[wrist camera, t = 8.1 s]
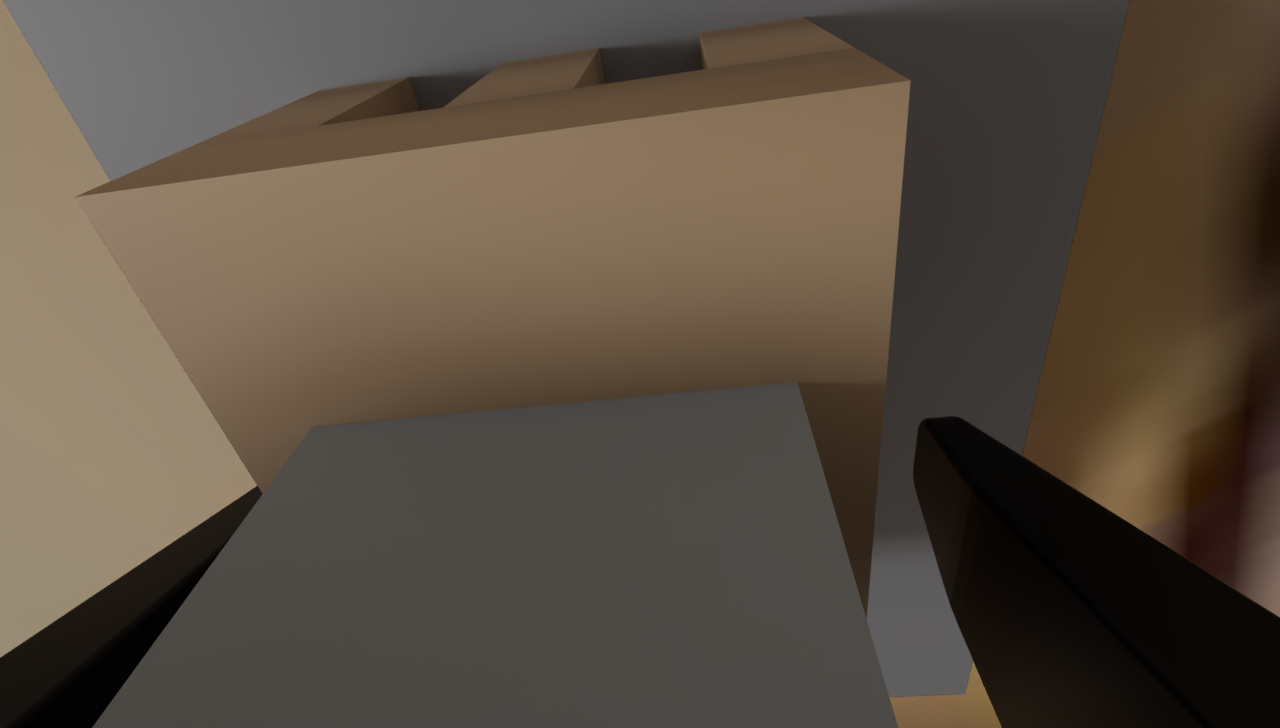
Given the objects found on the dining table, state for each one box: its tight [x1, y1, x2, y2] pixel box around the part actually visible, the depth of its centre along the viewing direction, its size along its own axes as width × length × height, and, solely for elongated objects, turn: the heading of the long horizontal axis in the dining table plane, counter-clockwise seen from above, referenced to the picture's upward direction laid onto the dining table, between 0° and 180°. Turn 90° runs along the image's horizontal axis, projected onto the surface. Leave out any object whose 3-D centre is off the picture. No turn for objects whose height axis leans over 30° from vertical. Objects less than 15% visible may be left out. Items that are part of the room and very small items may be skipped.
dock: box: [3, 0, 1130, 697], centre depth 11 cm, size 20×13×3 cm, turn 8°
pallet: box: [75, 17, 911, 619], centre depth 9 cm, size 9×6×4 cm, turn 8°
